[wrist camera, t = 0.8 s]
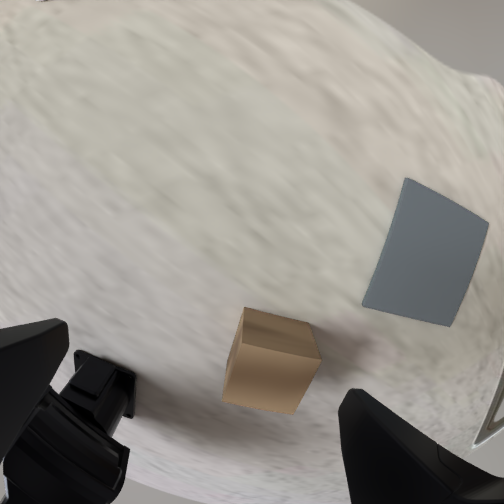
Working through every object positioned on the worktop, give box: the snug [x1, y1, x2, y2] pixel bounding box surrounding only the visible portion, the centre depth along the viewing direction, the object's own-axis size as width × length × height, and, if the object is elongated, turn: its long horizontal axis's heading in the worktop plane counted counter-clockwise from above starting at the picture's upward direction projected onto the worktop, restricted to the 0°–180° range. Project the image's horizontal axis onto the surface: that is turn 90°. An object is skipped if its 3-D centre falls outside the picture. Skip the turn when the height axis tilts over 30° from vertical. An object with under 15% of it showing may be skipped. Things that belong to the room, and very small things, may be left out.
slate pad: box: [362, 178, 489, 327], centre depth 19 cm, size 10×10×1 cm
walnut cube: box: [222, 307, 322, 415], centre depth 19 cm, size 5×5×5 cm
